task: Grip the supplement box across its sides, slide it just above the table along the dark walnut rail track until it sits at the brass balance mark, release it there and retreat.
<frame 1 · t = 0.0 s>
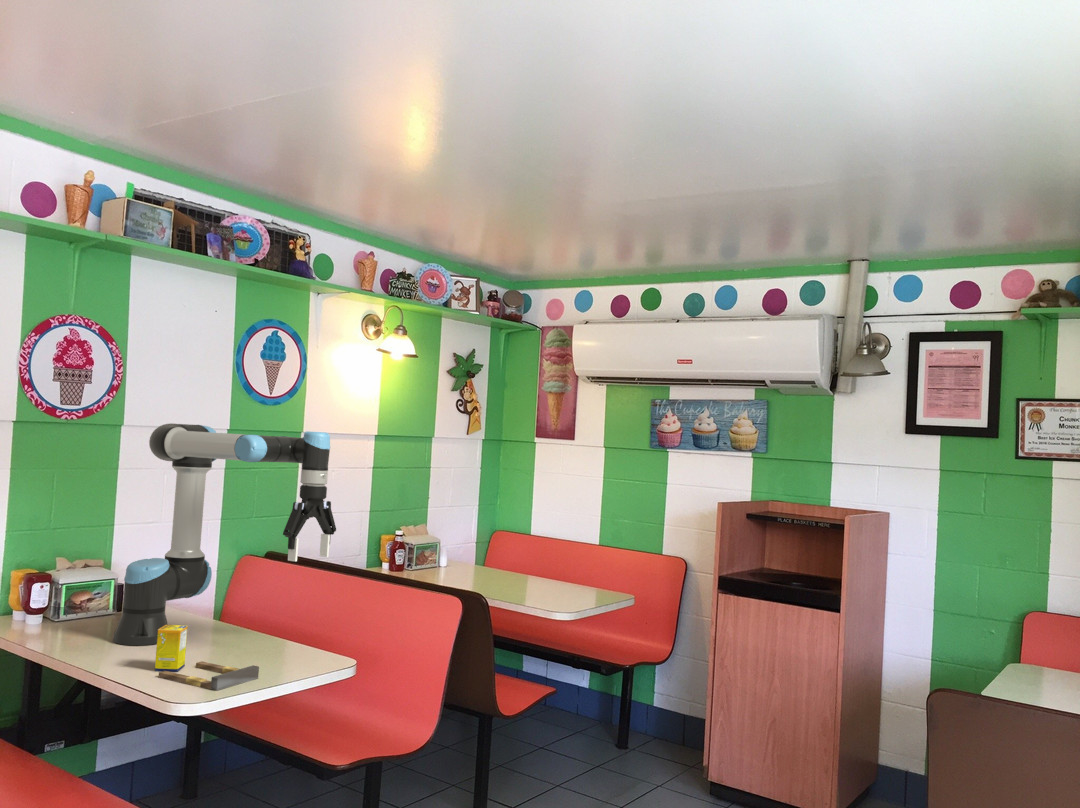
hand: (308, 558, 246), 28 cm above the table, fingers open, 13 cm apart
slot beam: (205, 677, 219), on the table
supplement box: (169, 669, 225), on the table
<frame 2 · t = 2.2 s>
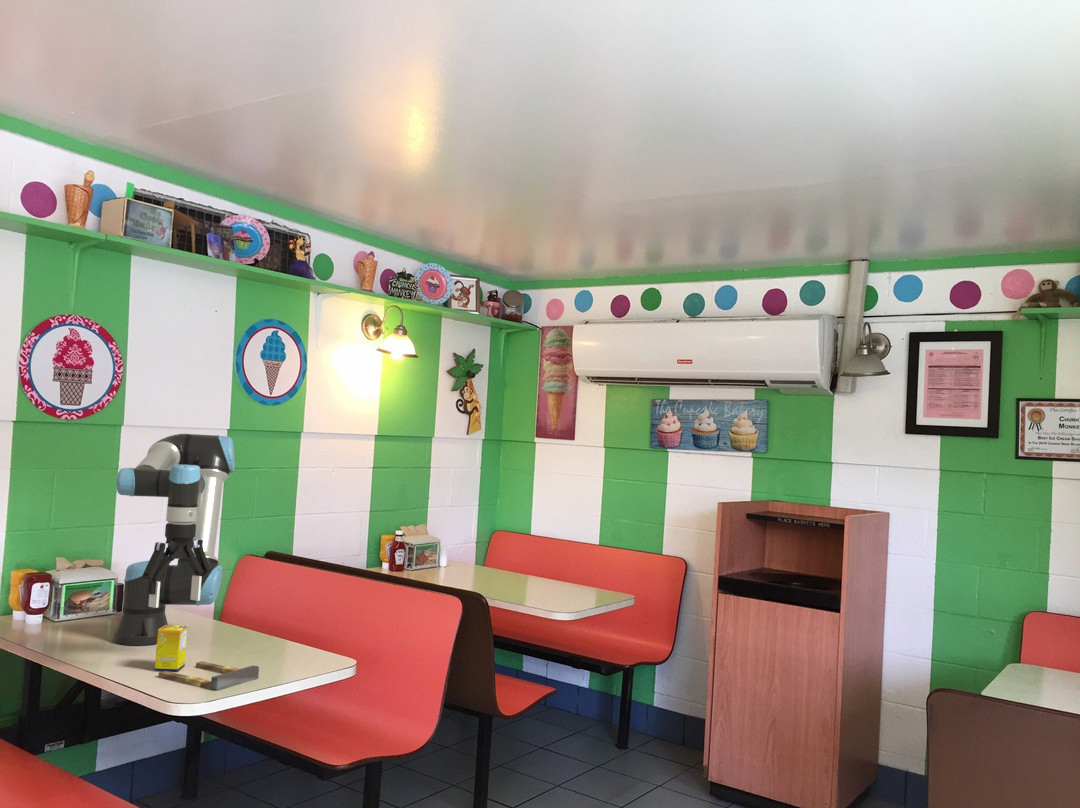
hand: (174, 603, 226), 17 cm above the table, fingers open, 13 cm apart
nothing on the table moved.
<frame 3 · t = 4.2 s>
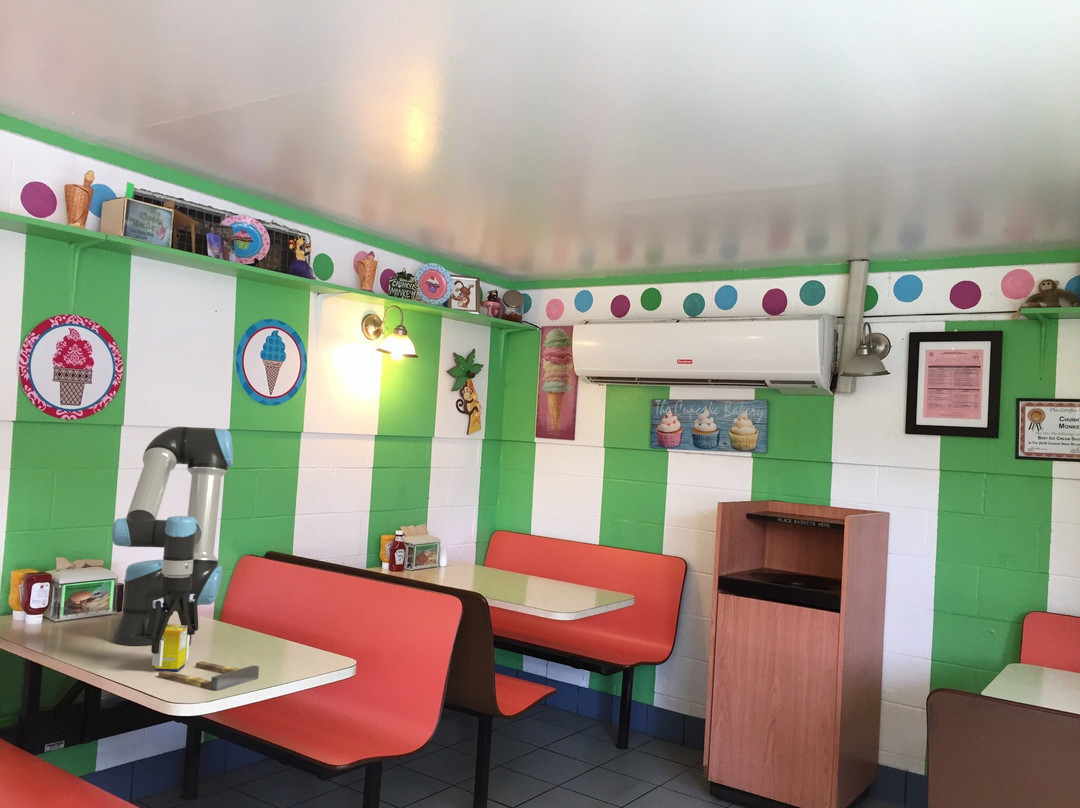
hand: (170, 662, 225), 2 cm above the table, fingers closed on supplement box, 8 cm apart
supplement box: (169, 669, 225), on the table, touching gripper
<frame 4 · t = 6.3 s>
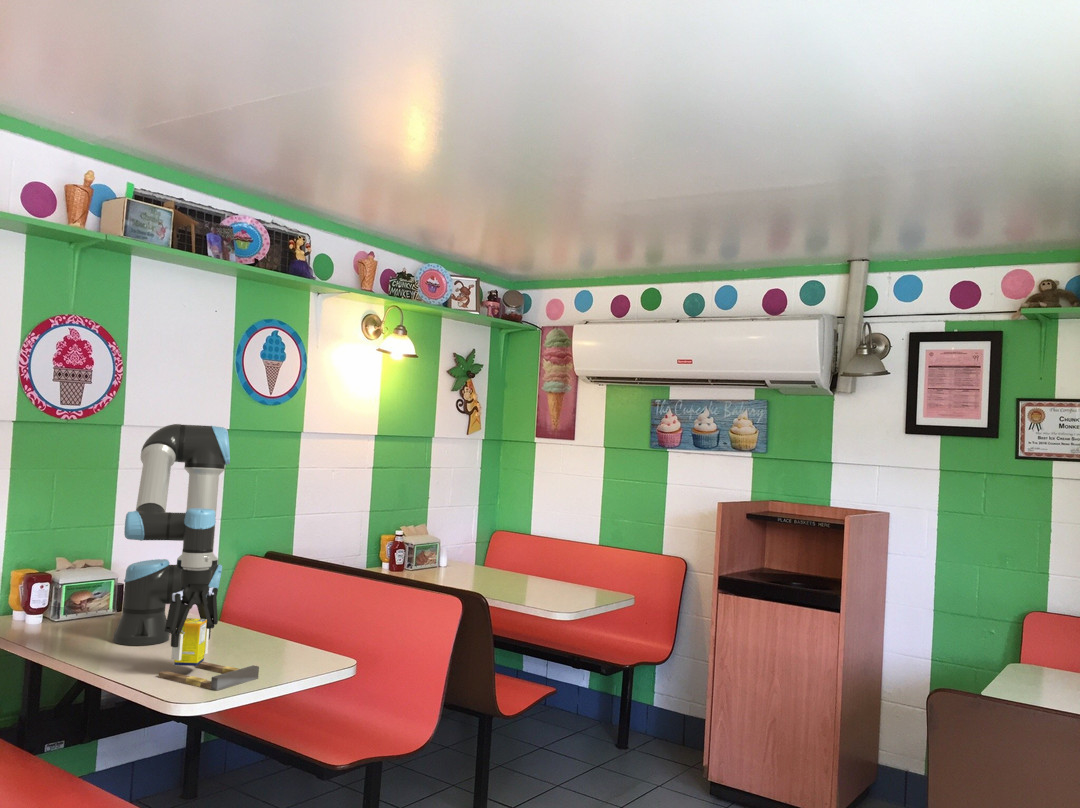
hand: (189, 656, 222), 4 cm above the table, fingers closed on supplement box, 8 cm apart
supplement box: (188, 663, 222), point 2 cm above the table, touching gripper
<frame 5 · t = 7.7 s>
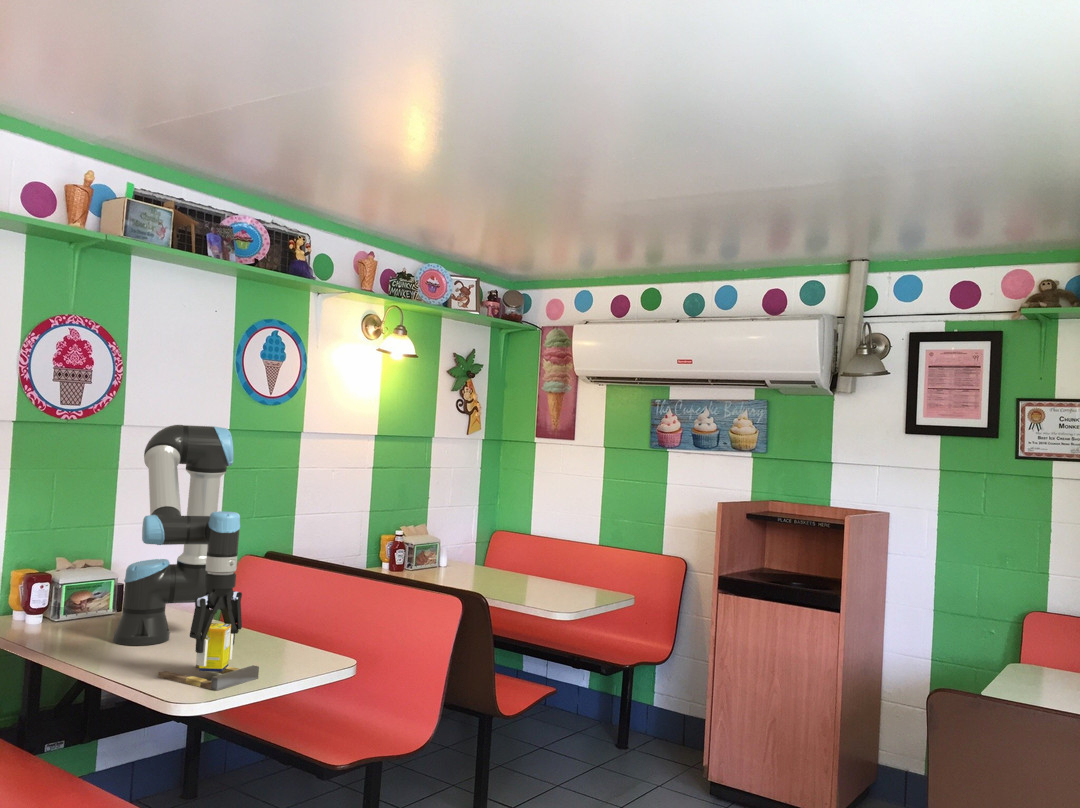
hand: (214, 661, 219), 4 cm above the table, fingers closed on supplement box, 8 cm apart
supplement box: (213, 669, 218), point 2 cm above the table, touching gripper
when the fingers open (3 cm above the table, at t = 8.7 s): supplement box stays where it is, resting in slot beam.
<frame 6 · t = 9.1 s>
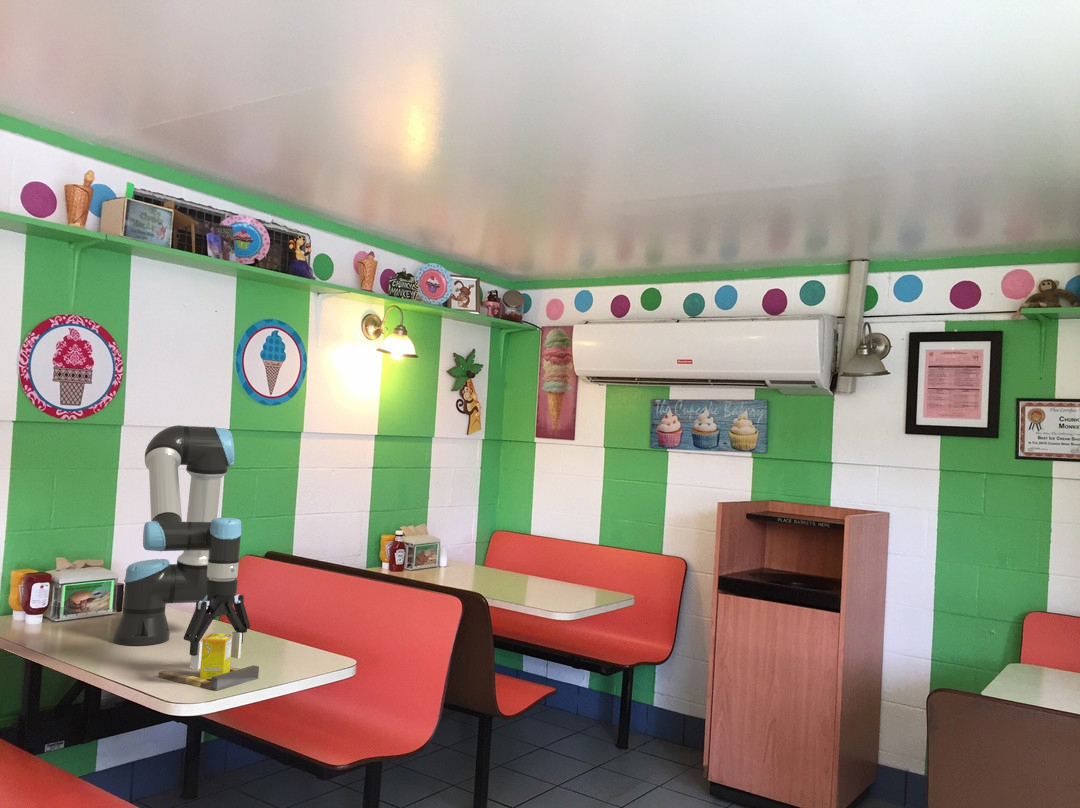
hand: (215, 662, 218), 4 cm above the table, fingers open, 13 cm apart
supplement box: (214, 680, 218), resting in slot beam
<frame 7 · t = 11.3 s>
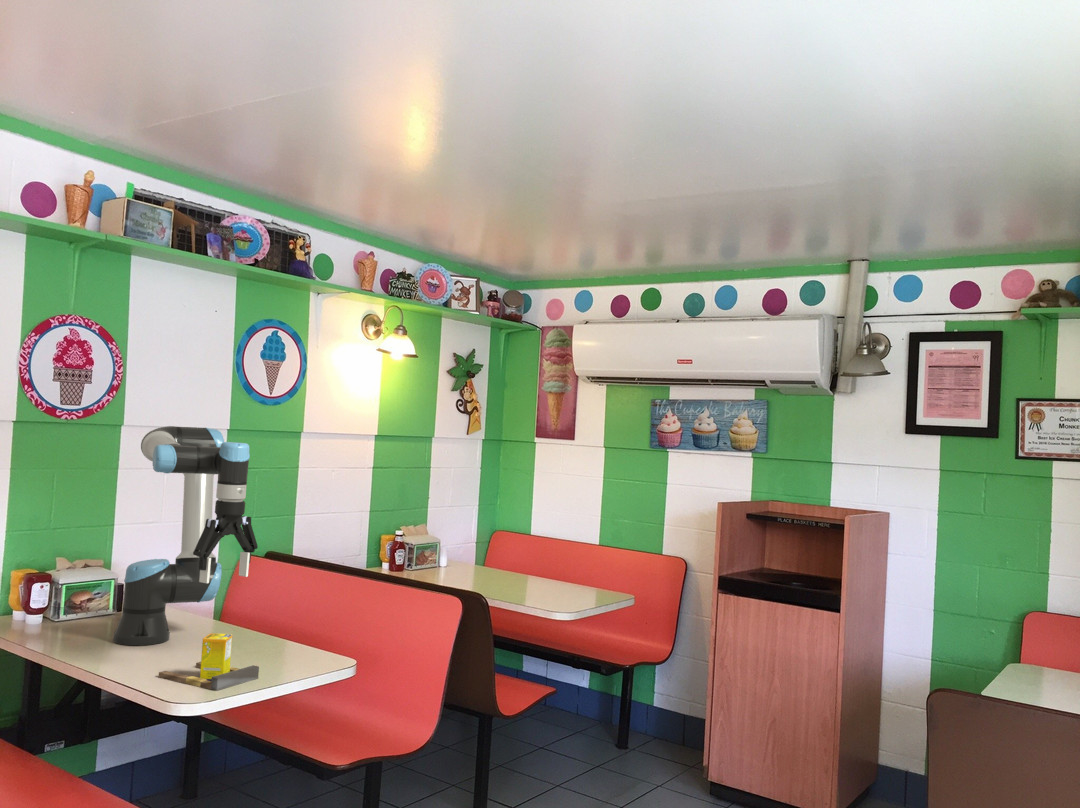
hand: (224, 579, 228), 24 cm above the table, fingers open, 13 cm apart
nothing on the table moved.
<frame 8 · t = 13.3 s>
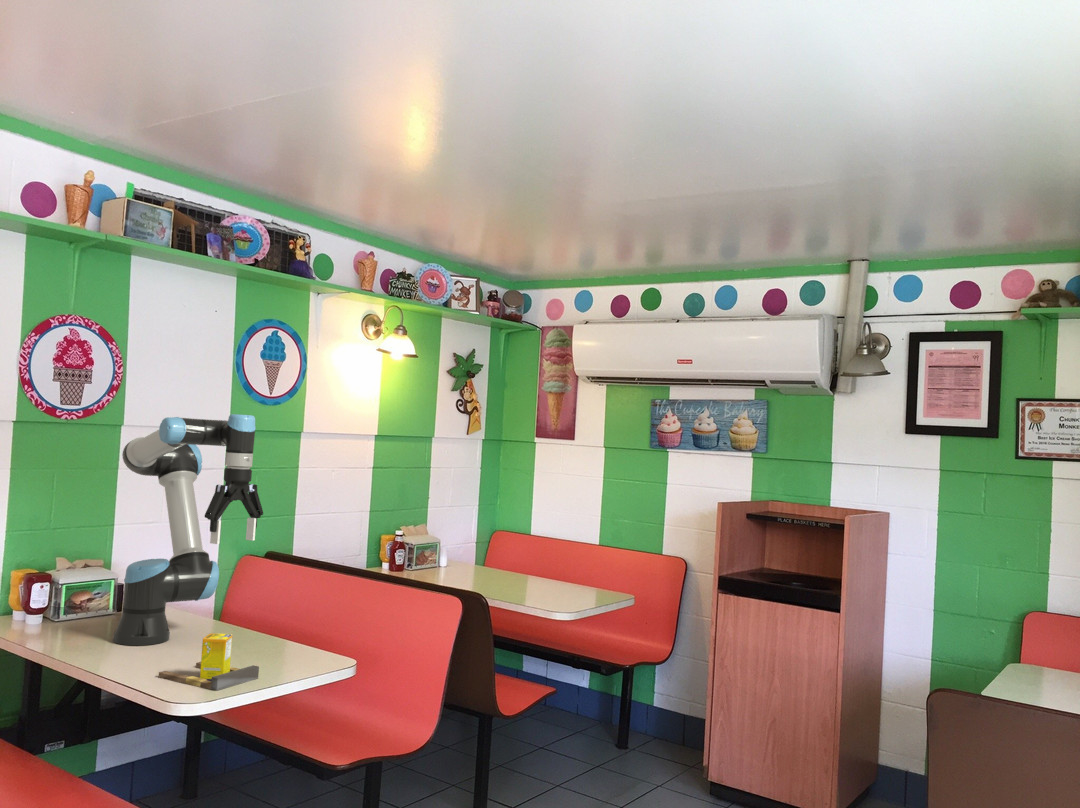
hand: (232, 542, 245), 32 cm above the table, fingers open, 13 cm apart
nothing on the table moved.
at the end: supplement box inside the target area (0.0 cm from its centre), resting in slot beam; supplement box tilted 0°; the gripper is holding nothing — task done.
